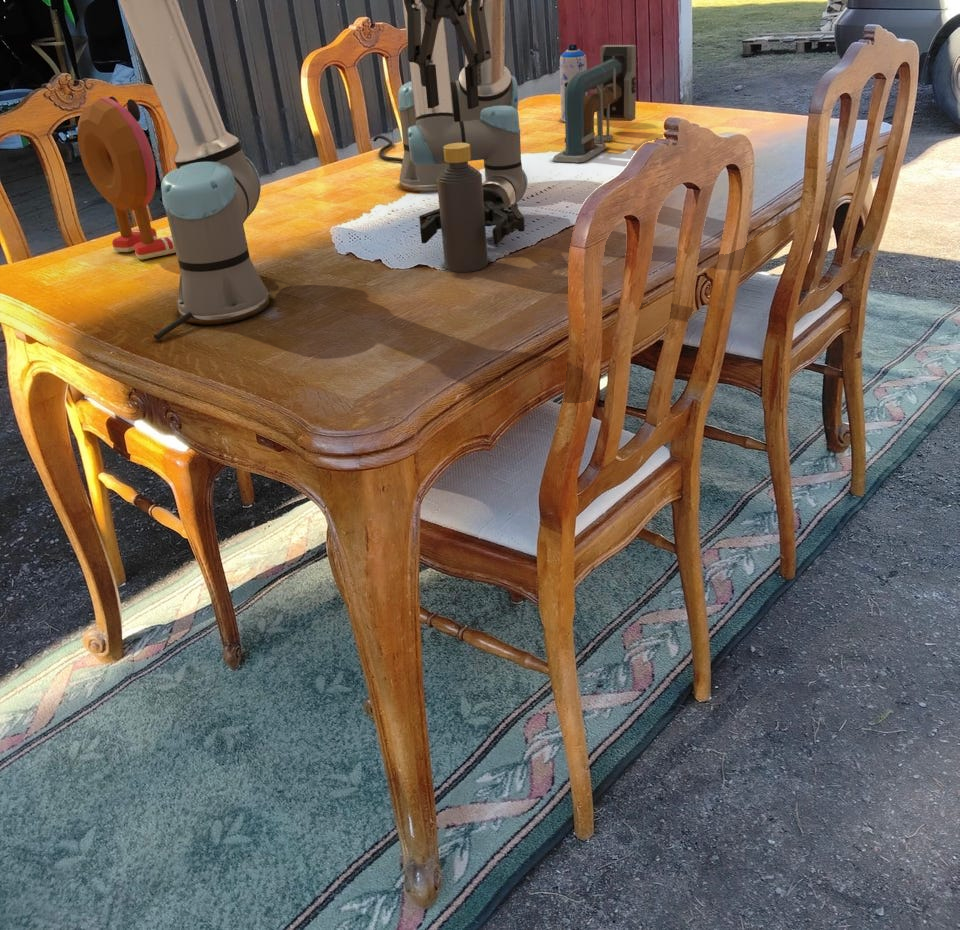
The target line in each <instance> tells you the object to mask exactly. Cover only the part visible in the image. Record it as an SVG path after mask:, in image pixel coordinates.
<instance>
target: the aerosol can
mask: <svg viewBox="0 0 960 930" xmlns="http://www.w3.org/2000/svg"><path fill="white" fill-rule="evenodd" d="M586 70H588V63H587V55H586V54H585V52H584V51H583V50H581V49H579V48H578V44H577V43H574V44H568V48H567V49H566V50H565V51H563V52H562V53H561V55H560V56H559V79H560V81H559V83H560V84H559V85H560V113H561V115H560V116H561V117H560V121H561V122H563V123H565V90H566V86H567V84H568V83H569V82H570V80H571V79H572V78H573V77H574V76H575V75H577V74H579V73H581V72H583V71H586ZM587 95H588V91H587V92H585V96H587Z"/></svg>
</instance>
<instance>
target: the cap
mask: <svg viewBox="0 0 960 930" xmlns="http://www.w3.org/2000/svg"><path fill="white" fill-rule="evenodd" d="M443 151H444V161H445V162H448V163H461V162H466V161H468V162H470V161H469V160H470V159H471V149H470V144H468V143H452V144H447V145H445V146H444V147H443Z"/></svg>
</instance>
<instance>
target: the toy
mask: <svg viewBox="0 0 960 930" xmlns="http://www.w3.org/2000/svg"><path fill="white" fill-rule="evenodd" d="M140 119H141V111H140V107H139V105H138V103H137V102H136V101H135V100H134V99H132V98H129V99H128V100H127V102H126V107H125V106H123V105H122V104H121V103H119V101H118V100H117V99H116V97H115V96H109V97H106V96H102V97H100V98H98V99H95V100H94V101H92V102H90V103H88V104H86V105H85V106H84V107H82V109H81V113H80V116H79V119H78V122H77V147H78V151H79V155H80V158H81V162H82V165H83V167H84V170H85V172H86V174H87V176H88V178H89V180H90V182H91V184H92V185H93V186H94V187H95V189H96V190H97V191H98V193H99V194H100V195H101V196H102V197H103V198H104V199H105V200H106V201H107V203H109V204H110V205H112V207H113V211H114V214H115V218H116V222H117V225H118V226H117V227H118V230H119V233H120V236H118V237H114V239H112V241H111V243H112V248H113V251H115V252H117V253H131V252H133V251H134V253H135V256H136V258H138V259H140V260H147V259H152V258H153V259H154V258H158V257H161V256H168V255H171V254H176V251H175V247H174V242H173V238H172V235H169V236H165V237H159V238H158V234H157V231H156V229H155V228H153V227H152V225H151V221H150V217H149V213H148V209H147V206H148V205H149V204H150V203H151V201H152V199H153V197H154V195H155V192H156V186H157V176H156V175H157V174H156V162H155V157H154V154H153V150H152V147H151V145H150V142H149V140H148V137H147V135H146V133H145V131H144V129H143V127H142V126H141V124H140V123H139V121H140ZM128 211H133V212H134V216H135V219H136V223H137V228H135V229H133V228H132V226H131V221H130V217H129V212H128ZM132 229H133V230H132Z"/></svg>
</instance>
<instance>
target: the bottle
mask: <svg viewBox="0 0 960 930" xmlns="http://www.w3.org/2000/svg"><path fill="white" fill-rule="evenodd" d="M482 183H483V175H482V172H481V171H479V170H478V169H476V168H475V167H473V166H472V165H471V164H469V161H466V162H461V163H448V166H447V167H446V168H445V169H444V170H443V171H442V172H441V173H440V174H439V175H438V177H437V188H438V191H437V196H438V197H437V198H438V209H439V208H440V219H441V229H440V230H441V240H442V248H443V249H442V251H443V256H444V257H443V260H444V267H445V269H446V270H448V271H450V272H455V273H470V272H476V271H479V270H482V269H484V268H486V267H487V266H488V265H489V256H488V243H487V242H488V241H487V229H486V228H487V226H485V213H484V200H483V186H482Z"/></svg>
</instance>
